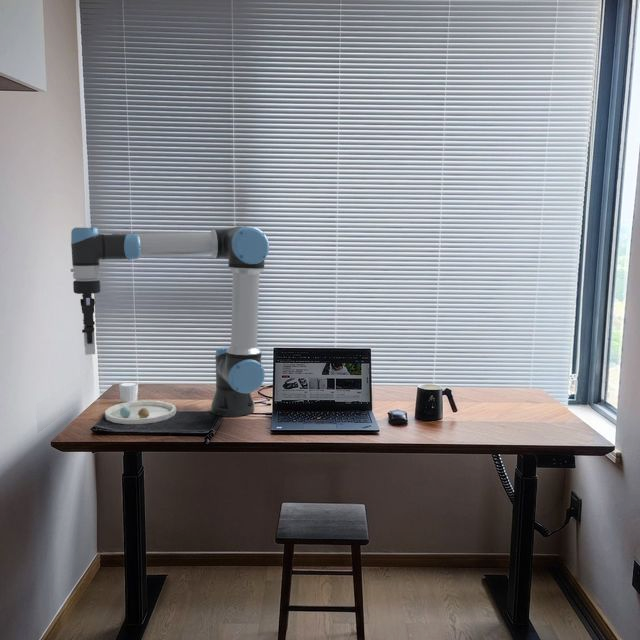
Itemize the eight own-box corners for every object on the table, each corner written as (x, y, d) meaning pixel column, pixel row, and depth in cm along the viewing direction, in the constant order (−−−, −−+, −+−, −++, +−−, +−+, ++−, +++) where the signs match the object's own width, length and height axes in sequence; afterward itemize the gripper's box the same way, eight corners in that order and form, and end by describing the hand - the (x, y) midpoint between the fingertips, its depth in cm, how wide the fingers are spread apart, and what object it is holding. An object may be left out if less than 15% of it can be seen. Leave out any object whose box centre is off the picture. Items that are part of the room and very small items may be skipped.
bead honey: (148, 416, 214) (148, 406, 214) (150, 419, 211) (149, 409, 211) (137, 417, 213) (137, 407, 212) (139, 420, 210) (139, 410, 209)
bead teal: (130, 415, 215) (129, 405, 215) (131, 418, 212) (131, 407, 212) (119, 416, 214) (119, 406, 213) (120, 419, 211) (120, 408, 210)
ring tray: (168, 404, 232) (167, 398, 232) (182, 422, 212) (182, 414, 211) (101, 411, 223) (101, 404, 222) (110, 430, 202) (109, 422, 202)
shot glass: (139, 404, 233) (139, 385, 232) (120, 405, 230) (119, 387, 229) (137, 399, 239) (137, 381, 238) (118, 401, 237) (118, 382, 236)
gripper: (72, 277, 199) (76, 343, 202) (73, 283, 176) (76, 358, 179) (98, 276, 202) (101, 342, 205) (101, 282, 179) (104, 357, 182)
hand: (89, 350), depth 192 cm, fingers open, 13 cm apart
